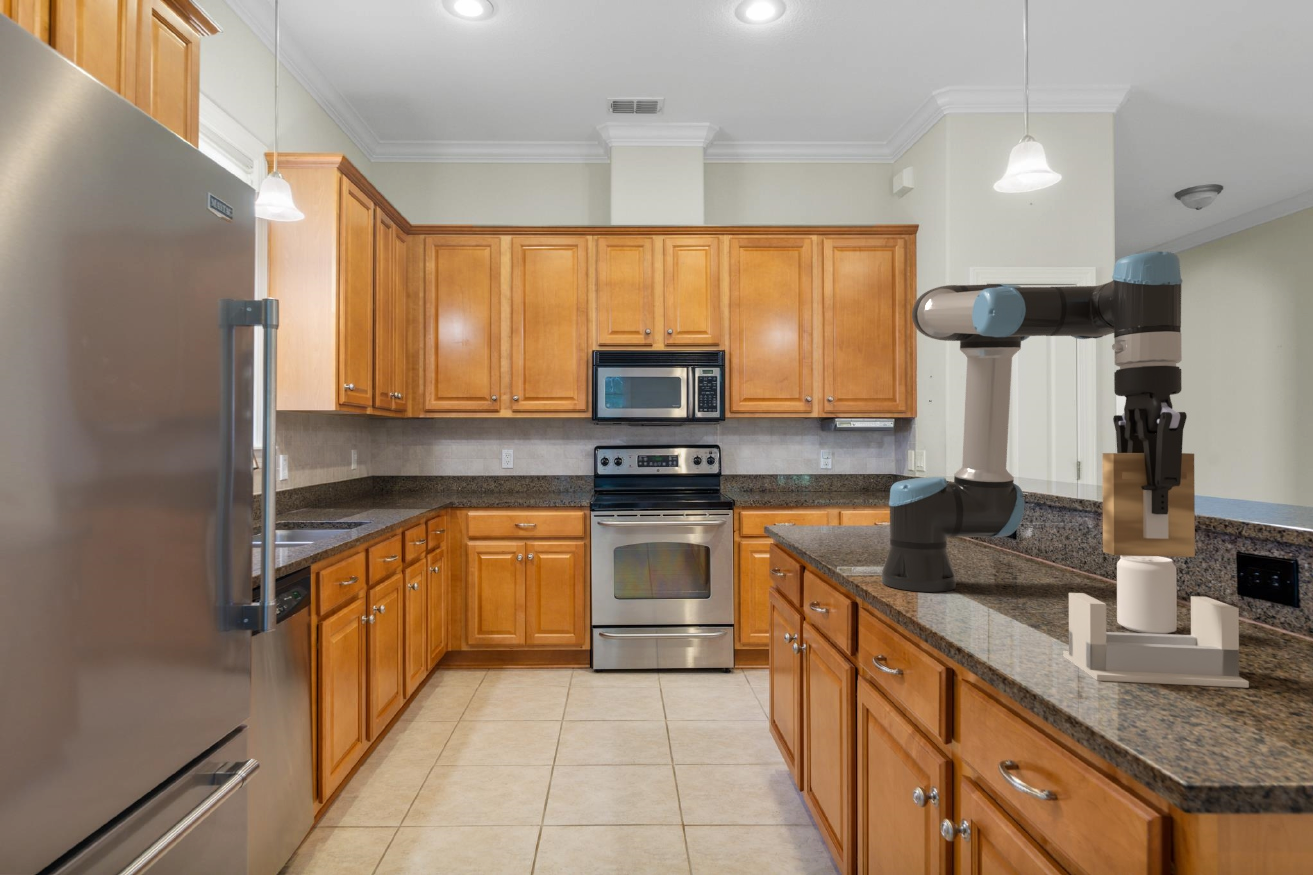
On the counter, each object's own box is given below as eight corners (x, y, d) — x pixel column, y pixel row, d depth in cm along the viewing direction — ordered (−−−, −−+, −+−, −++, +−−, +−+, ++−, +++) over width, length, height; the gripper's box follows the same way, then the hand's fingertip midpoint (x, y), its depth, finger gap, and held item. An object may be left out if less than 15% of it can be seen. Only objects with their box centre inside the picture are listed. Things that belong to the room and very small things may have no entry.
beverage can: (1187, 637, 108) (1187, 563, 108) (1131, 634, 110) (1130, 561, 110) (1160, 623, 116) (1160, 554, 116) (1108, 621, 118) (1108, 553, 118)
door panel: (1102, 551, 95) (1102, 453, 95) (1180, 553, 94) (1180, 453, 94) (1114, 555, 92) (1113, 453, 92) (1195, 557, 90) (1194, 453, 90)
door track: (1063, 656, 99) (1063, 589, 99) (1198, 661, 96) (1198, 593, 96) (1097, 680, 89) (1096, 606, 89) (1248, 687, 86) (1248, 611, 86)
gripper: (1089, 372, 101) (1090, 528, 101) (1150, 360, 86) (1151, 544, 85) (1144, 372, 100) (1144, 528, 100) (1216, 359, 84) (1217, 545, 84)
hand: (1147, 535), depth 93 cm, fingers closed on door panel, 3 cm apart
